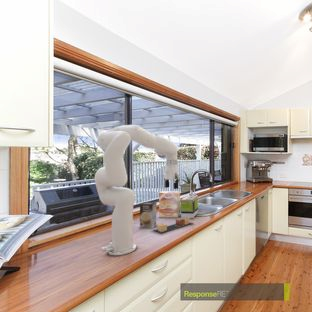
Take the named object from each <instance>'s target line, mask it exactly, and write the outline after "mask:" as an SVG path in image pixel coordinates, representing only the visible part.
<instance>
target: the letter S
mask: <svg viewBox="0 0 312 312" xmlns="http://www.w3.org/2000/svg"><path fill="white" fill-rule="evenodd" d="M175 224H176V226H183V225H184V219H181V217H180V218H176V219H175Z"/></svg>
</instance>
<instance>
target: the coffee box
mask: <svg viewBox="0 0 312 312" xmlns="http://www.w3.org/2000/svg"><path fill="white" fill-rule="evenodd" d="M157 205H158V204H157V202H150V201H149V202H147V201H144V202H142V203H140V204H139V228H140V229H153V228H155V227H156V226H157Z"/></svg>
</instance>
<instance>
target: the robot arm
mask: <svg viewBox="0 0 312 312" xmlns="http://www.w3.org/2000/svg"><path fill="white" fill-rule="evenodd" d="M131 141H132V142H134V143H136V144H139V145H141V146H142V147H144V148H147V149H151V150H154V153H155V154H156V155H158V156H165V165H164V171H163V181H164V188H165V189H167V188H170V181H173V189H174V190H178V189H179V183H180V180H181V175H179V167H178V145H177V144H176V143H174V142H173V141H171V140H170V139H167V138H165V137H162V136H159V135H156V134H153V133H151V132H150V131H148V130H146V129H145V128H143V127H141V126H140V125H137V124H123V125H120V126H119V125H118V126H116V127H113V128H111V129H107V130H105V131H103V132H101V133H100V134H99V135H98V136H97V143H98V146H100V147H101V148H103V149H105V150H104V153H103V158H102V160H103V167H101V168H99V169H97V171H96V172H95V174H94V184H95V187H96V191H97V194H98V197H99V200H100V202H101V203H102V204H103V205H105V206H108V207H109V206H110V207H114V209H113V211H112V213H111V241H110V242H109V244H108V245H107V246H103V247H100V252H101V253H104V252H106V253H107V254H108V255H110V256H125V255H127V254H130V253H132V252H134V251H135V250H136V249H137V244H135V243H134V205H135V200H136V194H135V192H134V190H133V189H132V188H129V187H124V186H125V185H126V184H127V182H128V173H127V169H126V165H125V159H124V155H125V151H126V150H127V148H128V147H129V146H130V145H131V144H130V143H131Z"/></svg>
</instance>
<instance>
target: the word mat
mask: <svg viewBox="0 0 312 312" xmlns="http://www.w3.org/2000/svg"><path fill="white" fill-rule="evenodd" d="M180 218H181V217H180ZM181 219H184V225H183V226H176V223H174V224H171V225H168V224H167V223H164V222H162V223H158V224H157V229H153V230H152V232H154V233H157V234H160V235H164V234H167V233H170V232H173V231H176V230H179V229H183V228H186V227H189V226H192V225H194V223H193V222H190V218H187V217H184V218H181Z"/></svg>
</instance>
